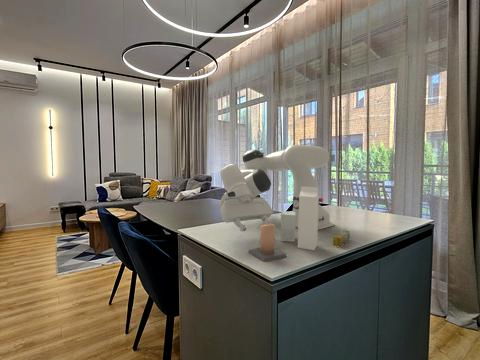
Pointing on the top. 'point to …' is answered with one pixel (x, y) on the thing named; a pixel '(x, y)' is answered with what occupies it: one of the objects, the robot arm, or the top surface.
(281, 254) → the coaster
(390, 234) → the top surface
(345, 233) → the medication box
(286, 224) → the small box
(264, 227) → the tan round cylinder
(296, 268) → the top surface
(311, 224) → the milk
